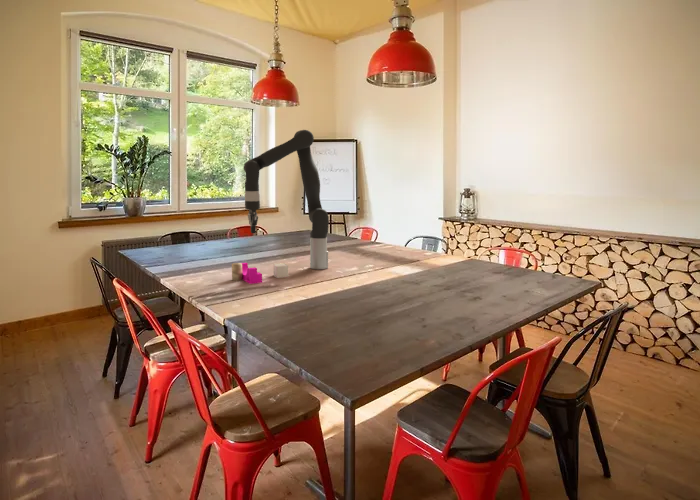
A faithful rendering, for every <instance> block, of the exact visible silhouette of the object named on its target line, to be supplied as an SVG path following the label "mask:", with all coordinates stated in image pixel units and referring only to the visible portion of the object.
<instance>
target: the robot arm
mask: <svg viewBox="0 0 700 500" xmlns="http://www.w3.org/2000/svg"><path fill="white" fill-rule="evenodd" d="M314 139H315V138H314V134H313V133H312V132H311V131H310V130H309V129H308V130H307V129H302V130H298V131H296V132H295V133H294V136H293V137H292V138H290V139H289V140H288V141H285V142H284V143H281V144H280V145H277V146H276V145H275V147H272V148H271V149H268V150H266V151H265V152H263V153H261V154H260V155H258V156H256V157H254V158H251V159H249V160H247V161H246V162H245V163H244V164H243V170H244V173H245V180H244V209H245V210H248V213H247V219H248V224H249V226H250V233H251V234H257V233H256V229H257V228H256V226H257V224H258V221H259V216H258V213H257V210H260V209H261V201H260V200H261V197H260V184H259V181H260V171H261V170H263V169H265V168H267V167H270V166H272V165H273V164H275V163H277V162H279V161H281V160H282V159H284V158H285V157H288V156H290V155H291V154H292V153H295V152H296V153H297V157H298V163H299V169H300V174H301V181H302V184H303V190H304V194H305V197H306V202H307V213H308V219H309V221H310V223H312V225H311V231H310V233H309V234H310V235H309V236H310V238H309V239H310V242H309V243H310V247H309V248H310V249H309V255H310V256H309V258H310V259H309V260H310V262H309V267H310V269H312V270H325V269H328V268H329V251H328V233H329V223H330V222H329V220H330V219H329V214H328V212H327V211H326V210H325V209H323V207H322V203H321V197H320V195H321V180H320V179H321V178H320V175H319V170H318V167H317V165H316V163H315V161H314V159H313V156H312V152H311V151H312V150H311V146H312V145H313V143H314Z"/></svg>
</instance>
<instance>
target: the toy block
mask: <svg viewBox="0 0 700 500" xmlns="http://www.w3.org/2000/svg"><path fill="white" fill-rule="evenodd" d="M241 263H242V279H243V280H242V281H244V282H246V283H247V284H249V285H253V284H254V285H255V284H261V283H263V273H261V272H260V271H259V272H258V268H257V267H255V266H254V267H249V263H248V262H241Z"/></svg>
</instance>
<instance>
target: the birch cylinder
mask: <svg viewBox="0 0 700 500" xmlns="http://www.w3.org/2000/svg"><path fill="white" fill-rule="evenodd" d="M242 263H243V262H233V263H231V281H232V282H241V281H244V280H243V279H242Z"/></svg>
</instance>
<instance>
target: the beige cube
mask: <svg viewBox="0 0 700 500" xmlns="http://www.w3.org/2000/svg"><path fill="white" fill-rule="evenodd" d="M272 265H273V276H274V277H275V278H277V279H278V278H279V279H281V278H289V265H288V264H287V263H285V262H283V263H274V264H272Z"/></svg>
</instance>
